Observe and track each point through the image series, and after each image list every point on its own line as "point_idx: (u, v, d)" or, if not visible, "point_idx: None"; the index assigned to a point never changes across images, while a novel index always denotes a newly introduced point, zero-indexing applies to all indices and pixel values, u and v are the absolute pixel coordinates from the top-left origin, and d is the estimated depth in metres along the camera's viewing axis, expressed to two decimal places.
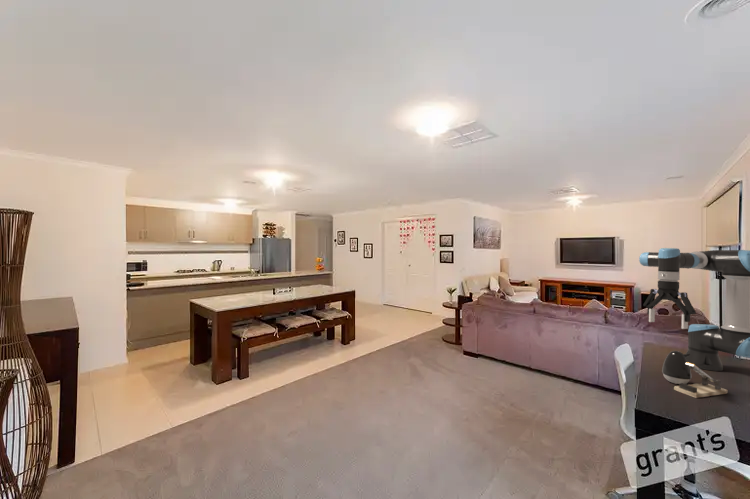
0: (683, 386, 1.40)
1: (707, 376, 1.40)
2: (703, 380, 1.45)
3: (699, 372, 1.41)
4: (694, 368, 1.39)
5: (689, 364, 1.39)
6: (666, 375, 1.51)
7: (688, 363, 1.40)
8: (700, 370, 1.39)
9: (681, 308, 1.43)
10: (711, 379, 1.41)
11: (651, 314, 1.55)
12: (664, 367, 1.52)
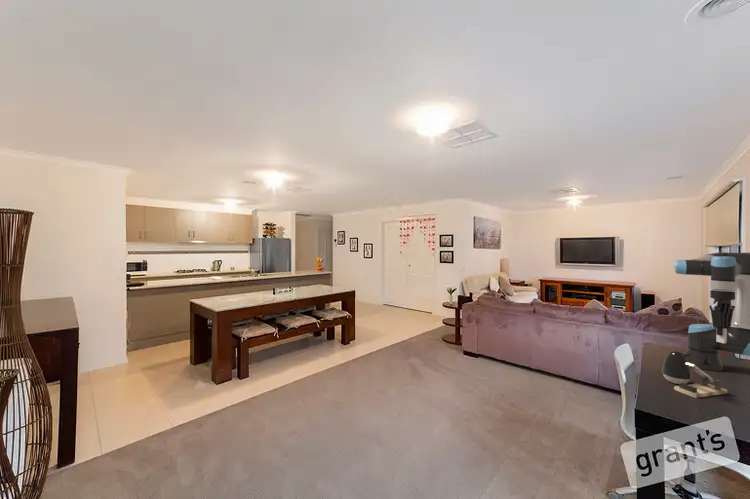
0: (683, 386, 1.40)
1: (707, 376, 1.40)
2: (703, 380, 1.45)
3: (699, 372, 1.41)
4: (694, 368, 1.39)
5: (689, 364, 1.39)
6: (666, 375, 1.51)
7: (688, 363, 1.40)
8: (700, 370, 1.39)
9: None
10: (711, 379, 1.41)
11: None
12: (664, 367, 1.52)
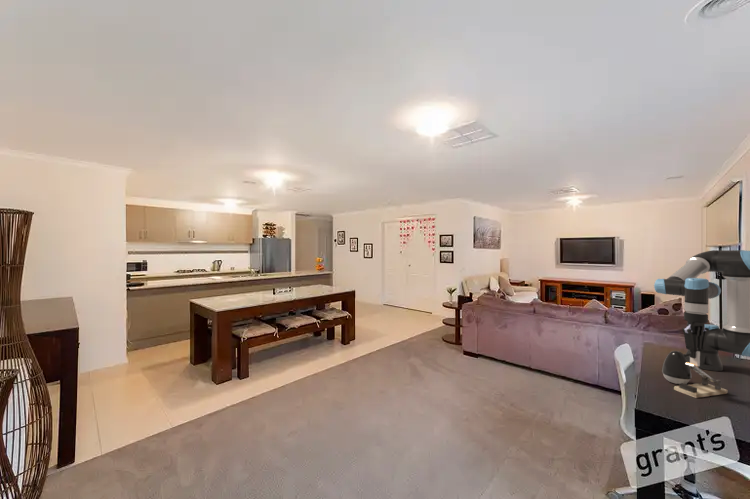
0: (683, 386, 1.40)
1: (707, 376, 1.40)
2: (703, 380, 1.45)
3: (699, 372, 1.41)
4: (694, 368, 1.39)
5: (689, 364, 1.39)
6: (666, 375, 1.51)
7: (688, 363, 1.40)
8: (700, 370, 1.39)
9: None
10: (711, 379, 1.41)
11: None
12: (664, 367, 1.52)
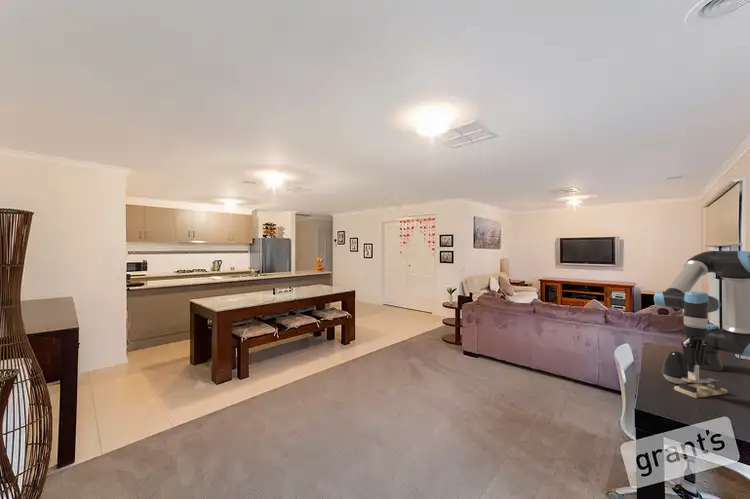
0: (683, 386, 1.40)
1: (706, 382, 1.40)
2: None
3: None
4: (691, 381, 1.39)
5: (685, 380, 1.39)
6: (666, 375, 1.51)
7: (684, 379, 1.39)
8: (697, 381, 1.38)
9: None
10: (711, 382, 1.41)
11: None
12: (664, 367, 1.52)
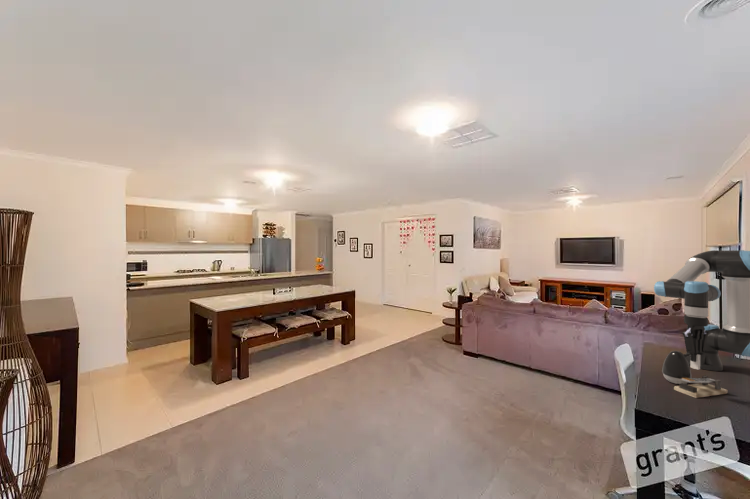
0: (683, 386, 1.40)
1: (706, 382, 1.40)
2: None
3: None
4: None
5: (685, 380, 1.39)
6: (666, 375, 1.51)
7: (684, 379, 1.39)
8: (697, 381, 1.38)
9: None
10: (711, 382, 1.41)
11: None
12: (664, 367, 1.52)
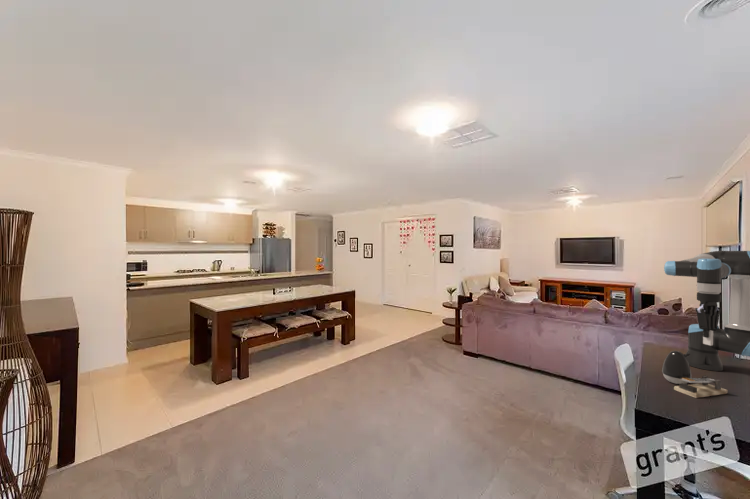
0: (683, 386, 1.40)
1: (706, 382, 1.40)
2: None
3: None
4: None
5: (685, 380, 1.39)
6: (666, 375, 1.51)
7: (684, 379, 1.39)
8: (697, 381, 1.38)
9: None
10: (711, 382, 1.41)
11: None
12: (664, 367, 1.52)
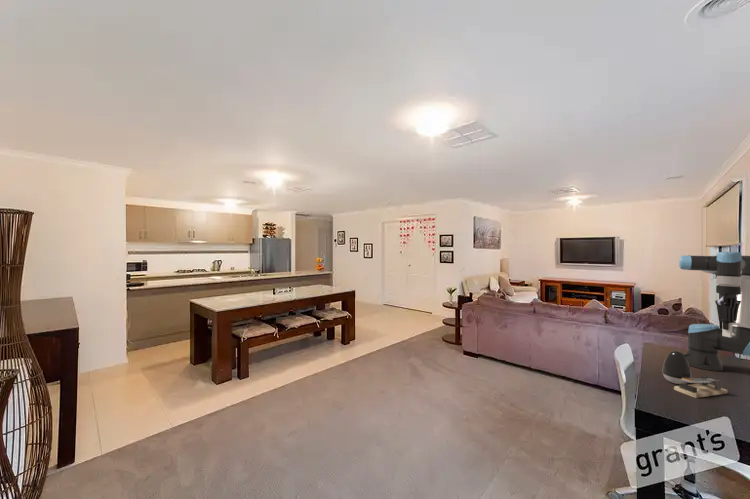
0: (683, 386, 1.40)
1: (706, 382, 1.40)
2: None
3: None
4: None
5: (685, 380, 1.39)
6: (666, 375, 1.51)
7: (684, 379, 1.39)
8: (697, 381, 1.38)
9: None
10: (711, 382, 1.41)
11: None
12: (664, 367, 1.52)
